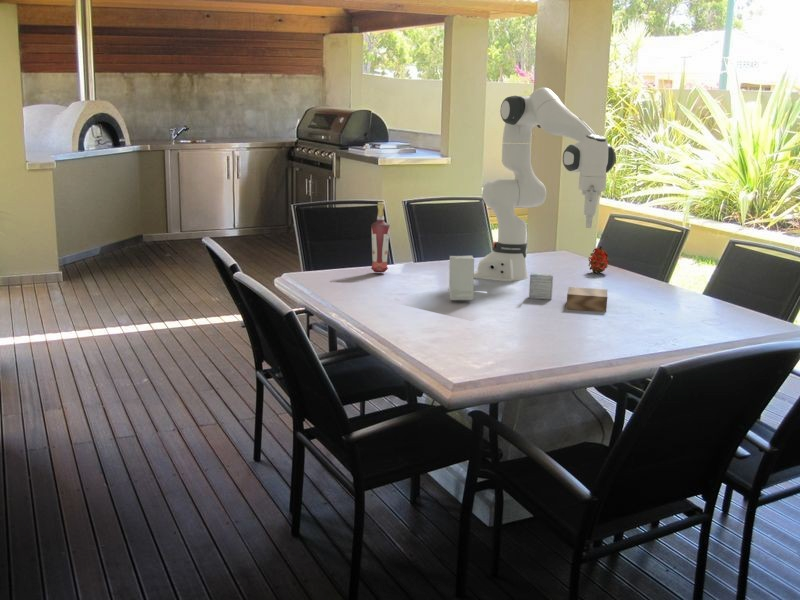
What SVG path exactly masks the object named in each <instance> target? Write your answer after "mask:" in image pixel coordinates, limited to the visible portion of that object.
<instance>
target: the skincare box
mask: <svg viewBox="0 0 800 600" xmlns="http://www.w3.org/2000/svg"><path fill="white" fill-rule="evenodd" d="M448 265H449V279H448V280H449V286H448V287H449V289H448V291H449V293H448V294H449V295H448V296H449V298H450V300H451V301H455V300H457V301H459V300H464V301H465V300H466V301H467V300H468V301H469V300H471V301H472V300H474V287H475V285H474V284H475V283H474V281H475V280H474V279H475V278H474V271H475V258H474V256H473V255H449V264H448Z"/></svg>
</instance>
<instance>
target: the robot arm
mask: <svg viewBox="0 0 800 600" xmlns="http://www.w3.org/2000/svg"><path fill="white" fill-rule="evenodd" d="M499 112H500V117H501V120H502V121H503V122H504V123H505V124H504V126H503V133H502V144H501V145H502V148H501V162H502V165H503V166H504V167H505V168H506V169H508V170H509V171H512V172H513V175H514V179H495V180H491V181H487V182H486V183H485V185H484V186H483V188H482V191H481V192H482V193H481V197H482V200H483V202H484V204H485V205H486V206H488V208H489V209H491V210H492V212H493V213H494V215H495V217H496V221H497V230H498V231H497V236H498V237H497V238H498V239H497V241H496V240H495V241H493V243H492V251H491V252H489V253H488V254H486V255H485V256H484V257H483V258H481V259H480V260H479V262H478V264H477V268H476V270H474V279H483V280H493V281H502V282H514V281H523V280H526V279H529V275H528V270H527V261H526V260H527V254H528V243H527V231H528V226H527V223H526V221H525V220H524V219H522V217H519V216H517V215H516V214H515V208H516V209H517V208H525V209H526V208H528V209H530V208H535V207H540V206H543V204H544V203H545V201H546V199H547V188H546V185H545V184H544V183H543V182H542V180H540V179H539V178H538V177H537V175H536V174H535V172H534V170H533V166H532V153H531V152H532V131H533V129H534V128H535V127H537V128H538V129H540V128H541V129H542V130H543V131H544V132H545V133H547V134H549V135H553V136H558V137H559V136H560V137H564V138H565V137H566V138H569V139H573V140H575V141H577V142H575V143H572V144H569V145H568V146H567V147H566V148H565V149H564V151H563V154H562V164H563V166H564V168H565V169H566V170H567V171H568V172H570V173H571V172H572V173H579V177H578V190H580V191H582V192H581V195H583V196H584V208H583V215H584V216H585V228H586V229H591V228H592V224H593V217H594V216H595V215H596V212H597V211H596V210H597V206H598V203H599V202H598V200H599V197H601V195H602V192H603V191H606V187H607V174H608V172H609V171H611V170H612V168H613V167H615V166H614V165H615V164H616V161H617V156H616V155H617V154H616V152H615V149H614V148H613V147H612V145H611V144H610V143H609V142H608V139H607V138H606V137H605V136H603V135H601V134H600V135H599V134H597V133H596V132H595V131H594V130H593V129H592V128H591V127H590V126H589V124H587V123H586V122H585V121H584V120H583V119H582V118H580V117H578V116H577V115H576V114H574V113H573V112H572V111H571V110H569V108H568V107H566V106H565V104H564V102H563V101H562V100H561V99H560V97H559V96H558V95H557V94H556V93H555V92H554V91H552V89H550V88H548V87H538V88H537V89H535V90H533V92H532V93H531V94H530V95H511V96H507V97H506V98H504V99H503V100H502V103H501V105H500V111H499Z"/></svg>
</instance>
